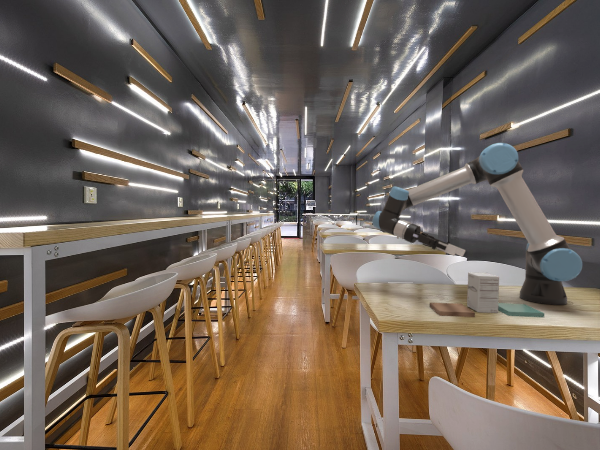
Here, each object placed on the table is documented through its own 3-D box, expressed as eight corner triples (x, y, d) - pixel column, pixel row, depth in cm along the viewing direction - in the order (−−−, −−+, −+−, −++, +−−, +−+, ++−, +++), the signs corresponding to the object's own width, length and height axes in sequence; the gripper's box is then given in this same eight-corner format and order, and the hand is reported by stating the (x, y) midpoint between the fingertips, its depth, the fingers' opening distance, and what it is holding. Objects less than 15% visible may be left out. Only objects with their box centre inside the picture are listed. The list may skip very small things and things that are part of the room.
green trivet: (524, 309, 116) (524, 304, 116) (544, 319, 105) (544, 313, 105) (492, 308, 117) (492, 302, 117) (508, 317, 106) (508, 311, 106)
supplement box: (466, 306, 117) (467, 272, 117) (487, 307, 117) (488, 272, 116) (476, 312, 110) (477, 275, 109) (499, 313, 109) (500, 276, 109)
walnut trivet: (461, 309, 115) (461, 303, 115) (474, 318, 104) (474, 312, 104) (429, 307, 116) (429, 302, 116) (439, 317, 105) (439, 311, 105)
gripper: (414, 241, 142) (463, 262, 129) (392, 237, 123) (446, 261, 110) (421, 225, 141) (471, 245, 128) (399, 219, 121) (456, 241, 108)
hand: (460, 253), depth 119 cm, fingers open, 13 cm apart
